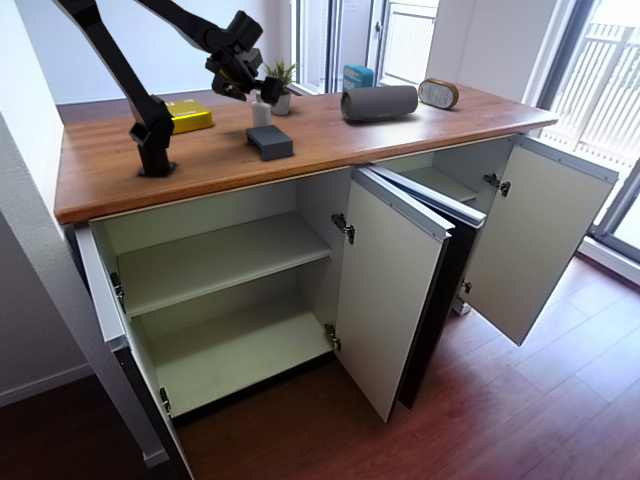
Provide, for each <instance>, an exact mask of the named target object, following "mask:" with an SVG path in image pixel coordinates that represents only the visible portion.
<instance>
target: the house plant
mask: <svg viewBox="0 0 640 480" xmlns="http://www.w3.org/2000/svg"><path fill="white" fill-rule="evenodd" d="M274 61H275V64H276V67H274V69H273V70H272V69H271V68H270V67H269V66H268V65H267V64H266V63H265V62H264V61H263V63H262V64H263V65H264V67H265V68H263V67H261V69H262V70H264V72H265V73H266V74H267V76H268V75H270V76H277V77H281V79H282V81H283V82H284V86H283V89H282V92H281V95H280V98H279V101H278V103H276V106H275V107H273V106H270V108H271V114H274V115H275V116H285V115H288V114H289V111H290V105H291V96H292V91H290V90H289V89H286V87H287V86H288V85H289V84H291V83H293V84H295V83H297V84H299V81H298V80H293V78H292V77H293V76H294V74H293V73H296V72H299V71H298V70H294V69H295V68H297V67H303V66H304V65H301V64H300V65H297V64H299V63H300V61H298V62H295V63H293V64H291V66H290V67H289V68H288V69H286V70H285V62H284V57H281V60H280V61H279V63H278V60H277V58H276V57H274ZM293 70H294V71H293ZM292 74H293V75H292ZM291 78H292V79H291Z"/></svg>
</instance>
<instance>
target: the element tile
mask: <svg viewBox="0 0 640 480" xmlns="http://www.w3.org/2000/svg"><path fill="white" fill-rule="evenodd" d="M164 102H165V101H164ZM165 104H166V106H167V108H168V110H169V112H170V113H171V115H173V116H174V117H175V118H172V120H173V122H174V124H175V128H174V131H173V133H172V135H176V134H182V133H187V132H192V131H198V130H201V129H207V128H211V127H212V126H213V125H214V121H213V115H212V110H211V109H210V108H208V107H207V106H205V105H204V104H202V103H201V102H199V100H197V99H195V98H186V99H185V98H184V99H179V100H174V101H173V100H172V101H166V102H165Z"/></svg>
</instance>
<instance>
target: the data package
mask: <svg viewBox="0 0 640 480" xmlns="http://www.w3.org/2000/svg"><path fill="white" fill-rule="evenodd" d="M342 71H343V72H342V86H341V87H342V88H341V95H342V94H343V91H345V90H349V89H356V88H364V87H374V79H375V73H374V70H373V69H372V68H369V67H366V66H365V65H361V64H359V63H358V62H357V63H356V62H355V63H347V64H344V66H343V70H342Z"/></svg>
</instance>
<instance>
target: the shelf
mask: <svg viewBox="0 0 640 480" xmlns="http://www.w3.org/2000/svg"><path fill="white" fill-rule="evenodd" d="M245 140H246V144H247V146H250V145H257V146H258V148H260V151H261V160H262V161H264V162H266V161H270V160H275V159H280V158H286V157H291V156H294V140H293V139H292V138H291V137H289V136H288V135H287V134H286V133H285V132H283V131H282V130H281V129H280V128H279V127H277V125H275V124H271V125H267V126H260V127H254V128H253V127H249V128H245Z"/></svg>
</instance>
